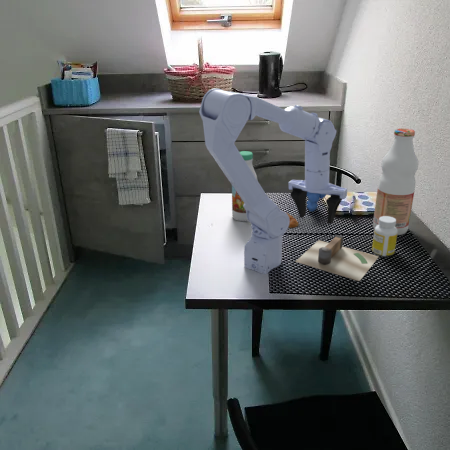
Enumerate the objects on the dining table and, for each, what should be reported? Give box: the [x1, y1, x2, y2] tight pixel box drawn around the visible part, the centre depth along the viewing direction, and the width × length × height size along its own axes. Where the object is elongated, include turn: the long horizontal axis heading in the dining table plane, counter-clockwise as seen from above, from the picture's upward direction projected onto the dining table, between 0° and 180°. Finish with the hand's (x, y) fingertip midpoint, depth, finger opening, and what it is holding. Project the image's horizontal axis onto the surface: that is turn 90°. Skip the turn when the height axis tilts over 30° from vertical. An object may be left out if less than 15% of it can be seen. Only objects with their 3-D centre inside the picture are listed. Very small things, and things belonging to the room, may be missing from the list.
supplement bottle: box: [371, 216, 398, 257], centre depth 109 cm, size 5×5×10 cm
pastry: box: [282, 210, 299, 229], centre depth 127 cm, size 9×7×4 cm
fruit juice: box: [372, 127, 419, 236], centre depth 118 cm, size 9×9×28 cm
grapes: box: [306, 192, 327, 213], centre depth 134 cm, size 12×7×12 cm, turn 172°
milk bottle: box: [231, 150, 259, 222], centre depth 130 cm, size 8×8×20 cm
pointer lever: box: [318, 234, 344, 264], centre depth 108 cm, size 11×3×3 cm, turn 145°
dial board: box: [295, 239, 380, 282], centre depth 108 cm, size 14×16×1 cm
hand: (316, 219), depth 111 cm, fingers open, 7 cm apart
